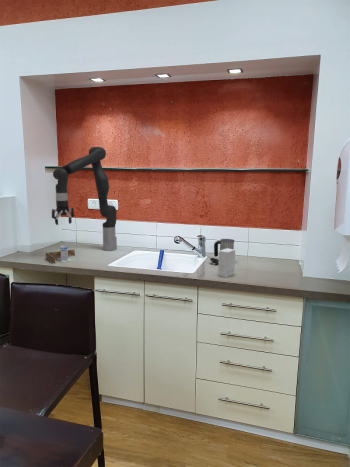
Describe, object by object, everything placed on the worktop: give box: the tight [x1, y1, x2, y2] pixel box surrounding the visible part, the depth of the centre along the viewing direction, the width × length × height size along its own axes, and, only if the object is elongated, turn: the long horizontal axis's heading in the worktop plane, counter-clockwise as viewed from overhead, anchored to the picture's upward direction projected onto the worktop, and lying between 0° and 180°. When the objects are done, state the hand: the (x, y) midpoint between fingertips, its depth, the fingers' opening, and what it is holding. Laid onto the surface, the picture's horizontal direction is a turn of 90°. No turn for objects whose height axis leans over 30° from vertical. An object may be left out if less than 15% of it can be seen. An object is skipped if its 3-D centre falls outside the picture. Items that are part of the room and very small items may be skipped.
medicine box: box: [59, 244, 69, 262], centre depth 228 cm, size 8×4×9 cm, turn 19°
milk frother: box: [209, 238, 235, 265], centre depth 223 cm, size 14×16×15 cm
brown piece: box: [45, 249, 76, 264], centre depth 229 cm, size 19×15×4 cm
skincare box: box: [217, 248, 236, 278], centre depth 197 cm, size 8×6×15 cm
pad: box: [55, 257, 73, 263], centre depth 228 cm, size 7×11×1 cm, turn 36°
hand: (63, 224), depth 230 cm, fingers open, 8 cm apart
